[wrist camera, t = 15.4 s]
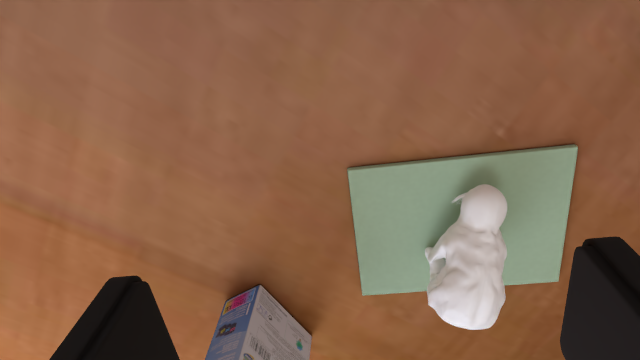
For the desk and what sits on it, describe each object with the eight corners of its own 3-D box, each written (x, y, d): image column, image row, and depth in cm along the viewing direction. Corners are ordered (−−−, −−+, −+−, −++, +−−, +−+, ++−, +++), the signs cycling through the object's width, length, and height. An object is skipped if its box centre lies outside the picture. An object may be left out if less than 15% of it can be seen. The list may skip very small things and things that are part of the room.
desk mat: (362, 291, 46) (362, 295, 45) (347, 167, 39) (347, 170, 39) (555, 277, 44) (558, 281, 43) (575, 143, 37) (578, 146, 37)
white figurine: (431, 336, 36) (472, 208, 31) (413, 276, 43) (444, 168, 39) (505, 346, 36) (556, 221, 31) (474, 285, 44) (511, 178, 39)
